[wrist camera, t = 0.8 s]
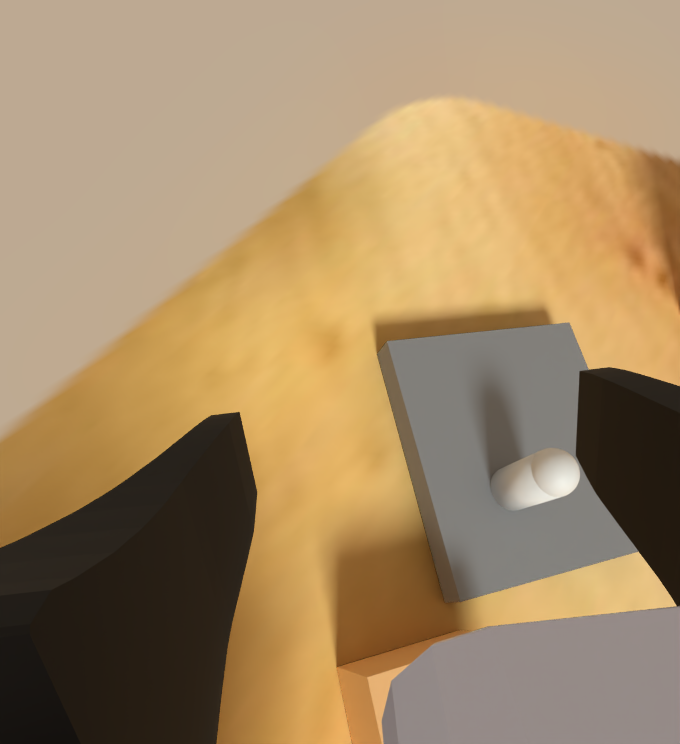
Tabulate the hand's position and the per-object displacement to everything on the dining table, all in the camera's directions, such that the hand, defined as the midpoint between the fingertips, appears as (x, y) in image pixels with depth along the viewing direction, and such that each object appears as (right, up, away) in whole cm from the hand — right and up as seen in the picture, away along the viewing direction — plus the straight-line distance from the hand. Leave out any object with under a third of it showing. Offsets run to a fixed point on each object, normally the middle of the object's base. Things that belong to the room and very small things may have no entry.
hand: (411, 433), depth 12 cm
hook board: (+7, -3, +16) cm, 18 cm away
